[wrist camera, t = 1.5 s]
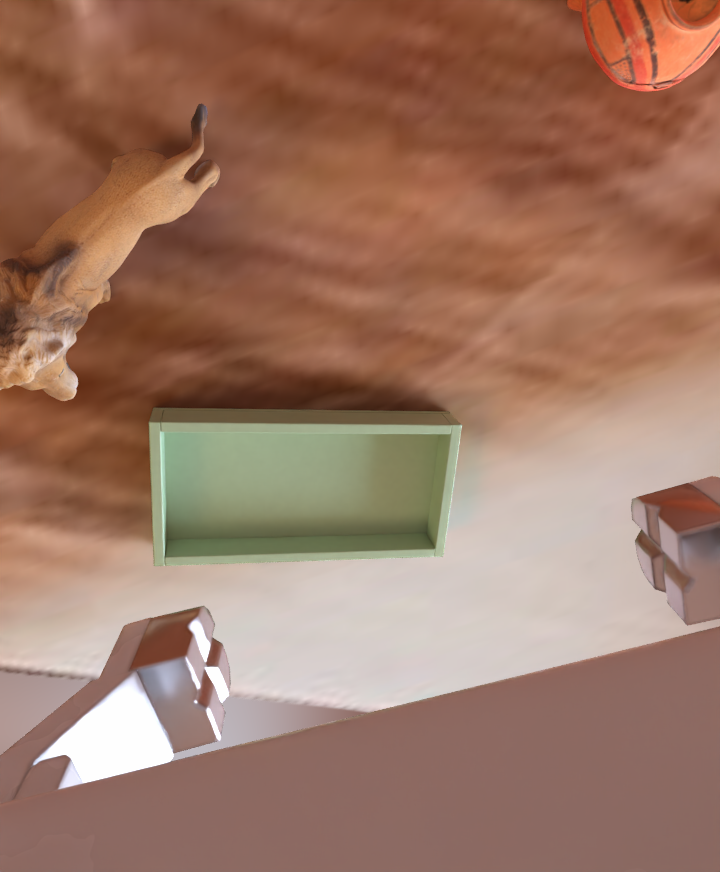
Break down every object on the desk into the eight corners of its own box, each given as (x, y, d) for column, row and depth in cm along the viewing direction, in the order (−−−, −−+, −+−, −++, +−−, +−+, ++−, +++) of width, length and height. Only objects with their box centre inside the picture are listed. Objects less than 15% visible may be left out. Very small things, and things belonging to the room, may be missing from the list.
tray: (157, 545, 39) (153, 566, 37) (152, 407, 36) (148, 421, 34) (432, 537, 43) (443, 556, 41) (449, 411, 40) (462, 424, 38)
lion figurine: (87, 376, 35) (46, 437, 27) (-10, 317, 33) (-87, 363, 25) (247, 142, 33) (256, 130, 24) (152, 63, 31) (126, 21, 22)
